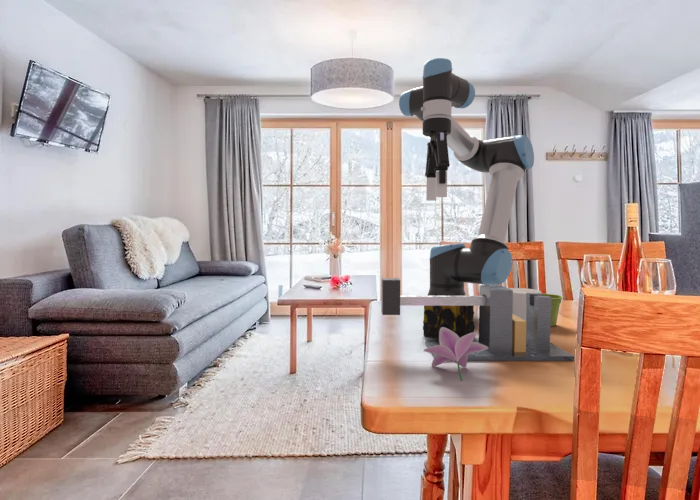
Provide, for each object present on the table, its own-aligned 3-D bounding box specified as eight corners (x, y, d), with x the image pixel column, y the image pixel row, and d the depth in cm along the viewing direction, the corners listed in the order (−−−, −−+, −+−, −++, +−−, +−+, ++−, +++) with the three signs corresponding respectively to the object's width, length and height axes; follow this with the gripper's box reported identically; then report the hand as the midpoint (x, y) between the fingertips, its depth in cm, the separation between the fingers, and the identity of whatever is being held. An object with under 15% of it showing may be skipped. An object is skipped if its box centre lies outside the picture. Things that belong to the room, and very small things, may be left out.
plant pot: (523, 320, 132) (523, 293, 131) (553, 321, 131) (554, 293, 131) (535, 327, 122) (535, 298, 122) (568, 328, 122) (569, 298, 122)
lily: (498, 379, 84) (486, 331, 88) (485, 372, 74) (473, 320, 79) (440, 389, 88) (431, 343, 93) (421, 384, 79) (412, 333, 83)
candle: (443, 329, 120) (443, 295, 120) (475, 336, 113) (476, 299, 112) (421, 336, 113) (422, 299, 112) (455, 343, 106) (455, 304, 105)
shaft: (381, 311, 101) (381, 278, 100) (492, 311, 100) (493, 278, 100) (382, 315, 97) (382, 280, 96) (498, 315, 96) (499, 280, 96)
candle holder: (544, 339, 109) (545, 293, 108) (504, 338, 111) (505, 292, 110) (535, 330, 119) (536, 288, 118) (499, 329, 121) (499, 287, 120)
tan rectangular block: (502, 342, 103) (502, 314, 102) (512, 342, 103) (513, 314, 102) (514, 352, 95) (515, 321, 94) (525, 352, 95) (526, 321, 94)
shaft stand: (425, 343, 106) (425, 283, 105) (544, 343, 106) (546, 283, 105) (436, 360, 92) (437, 292, 91) (574, 360, 92) (576, 292, 91)
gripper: (415, 130, 126) (415, 201, 127) (431, 106, 101) (430, 195, 103) (441, 130, 126) (440, 201, 127) (462, 106, 101) (461, 195, 103)
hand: (436, 199), depth 115 cm, fingers open, 13 cm apart
